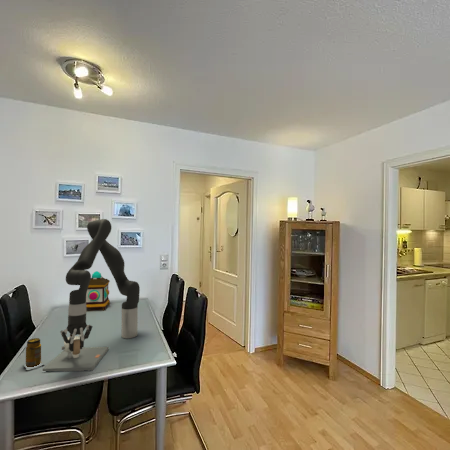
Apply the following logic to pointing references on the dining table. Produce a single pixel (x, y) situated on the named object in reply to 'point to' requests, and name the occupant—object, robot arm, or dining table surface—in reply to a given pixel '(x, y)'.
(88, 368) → the board
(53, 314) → the dining table surface
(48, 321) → the dining table surface
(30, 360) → the condiment
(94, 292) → the decorative lantern
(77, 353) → the cream maraca
